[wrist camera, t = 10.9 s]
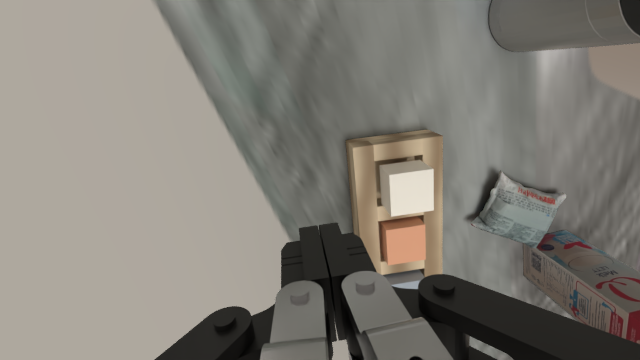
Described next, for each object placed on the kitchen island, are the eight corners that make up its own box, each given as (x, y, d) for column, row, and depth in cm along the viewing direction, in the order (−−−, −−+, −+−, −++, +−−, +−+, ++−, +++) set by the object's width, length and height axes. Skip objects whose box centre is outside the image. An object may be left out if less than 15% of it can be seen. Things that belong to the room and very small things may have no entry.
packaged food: (490, 165, 48) (512, 176, 44) (556, 190, 51) (584, 203, 46) (461, 219, 51) (479, 234, 46) (526, 240, 53) (550, 257, 48)
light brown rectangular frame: (426, 129, 46) (442, 135, 41) (428, 293, 54) (442, 313, 49) (345, 140, 45) (352, 147, 40) (360, 304, 53) (367, 326, 49)
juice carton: (523, 239, 53) (681, 350, 32) (564, 229, 53) (748, 333, 32) (523, 275, 55) (672, 401, 34) (563, 266, 55) (734, 385, 34)
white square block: (419, 159, 41) (433, 168, 38) (420, 198, 43) (433, 210, 39) (379, 165, 41) (389, 175, 37) (381, 203, 43) (391, 216, 39)
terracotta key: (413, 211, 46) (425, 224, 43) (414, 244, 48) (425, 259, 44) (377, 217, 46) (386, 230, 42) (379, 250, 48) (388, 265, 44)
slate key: (414, 263, 49) (426, 279, 45) (415, 292, 51) (426, 310, 47) (380, 268, 49) (389, 285, 45) (382, 297, 50) (390, 316, 46)
